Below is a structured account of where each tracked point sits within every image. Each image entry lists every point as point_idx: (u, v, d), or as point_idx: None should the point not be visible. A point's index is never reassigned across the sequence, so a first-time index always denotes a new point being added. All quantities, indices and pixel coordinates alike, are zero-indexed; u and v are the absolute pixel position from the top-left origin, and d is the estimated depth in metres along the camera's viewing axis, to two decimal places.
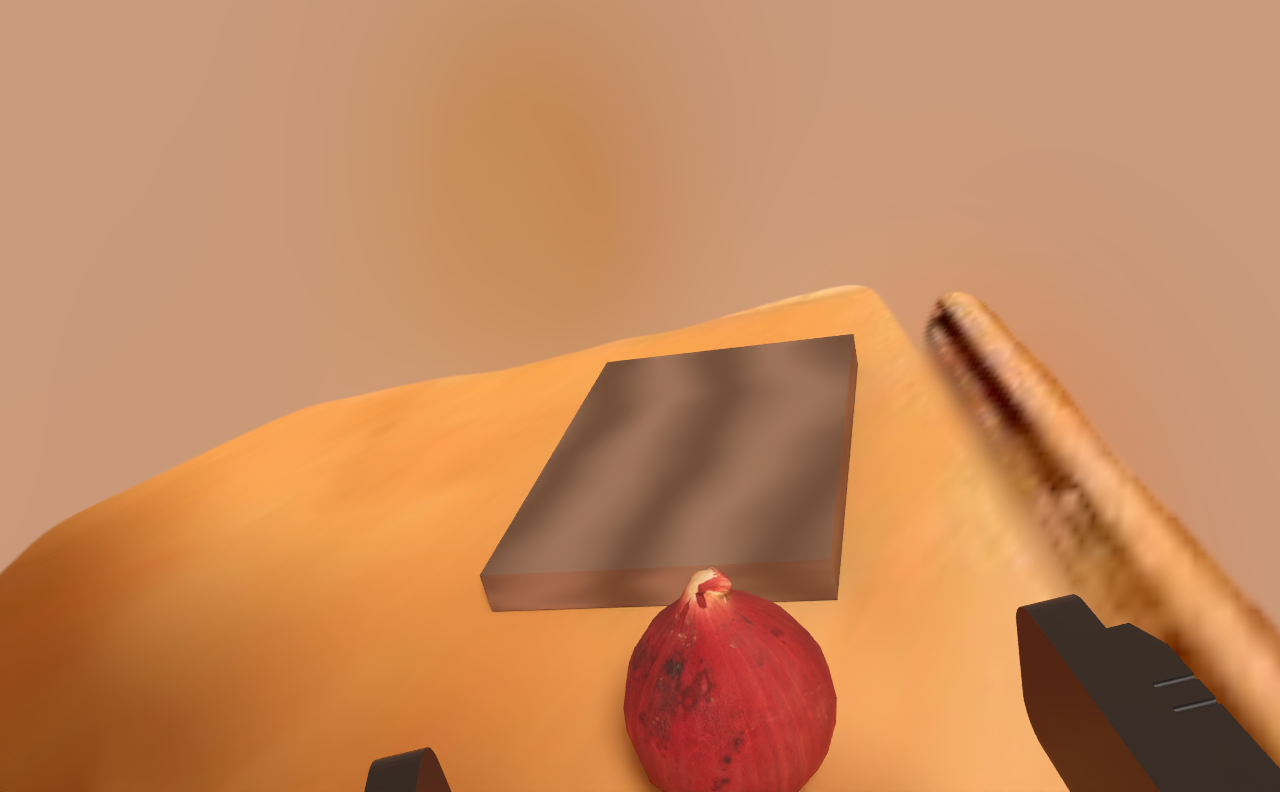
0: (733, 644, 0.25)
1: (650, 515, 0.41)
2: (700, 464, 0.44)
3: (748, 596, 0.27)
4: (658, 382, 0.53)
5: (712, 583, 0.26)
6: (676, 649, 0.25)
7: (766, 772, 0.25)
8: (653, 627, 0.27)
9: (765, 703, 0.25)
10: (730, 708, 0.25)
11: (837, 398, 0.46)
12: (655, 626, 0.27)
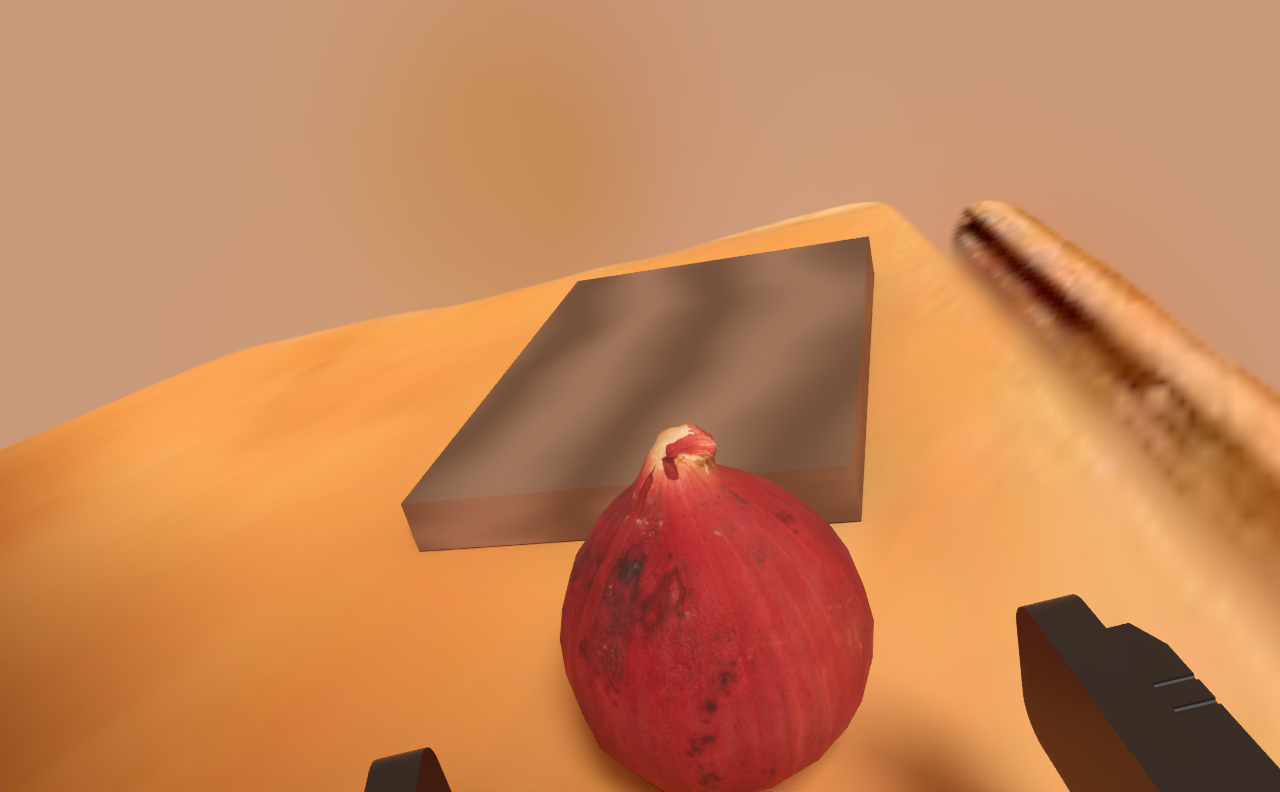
0: (718, 531, 0.16)
1: (620, 428, 0.32)
2: (684, 372, 0.35)
3: (742, 471, 0.18)
4: (636, 296, 0.44)
5: (687, 443, 0.17)
6: (632, 541, 0.17)
7: (770, 726, 0.16)
8: (602, 517, 0.18)
9: (768, 618, 0.16)
10: (714, 627, 0.16)
11: (852, 297, 0.38)
12: (604, 515, 0.18)
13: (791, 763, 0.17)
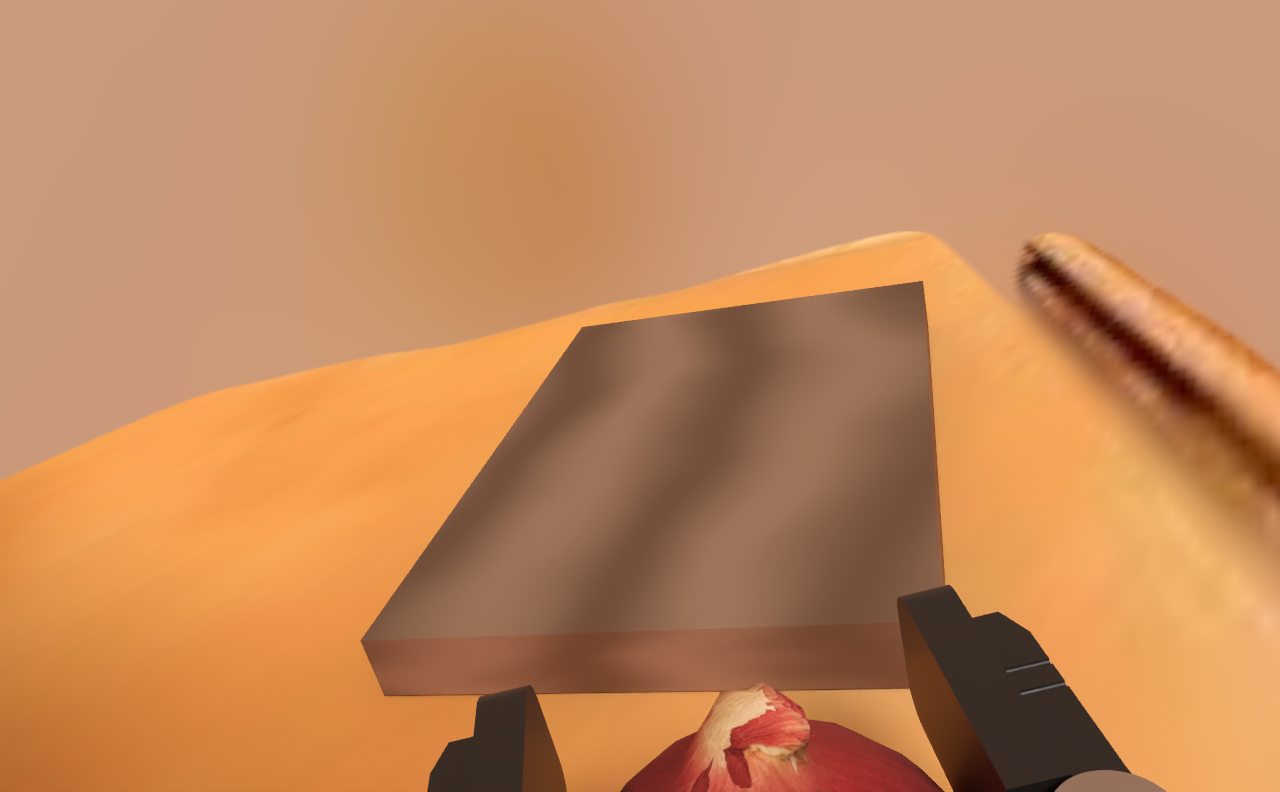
0: None
1: (635, 540, 0.26)
2: (712, 461, 0.29)
3: (842, 743, 0.12)
4: (651, 350, 0.38)
5: (764, 725, 0.11)
6: None
7: None
8: None
9: None
10: None
11: (913, 364, 0.31)
12: None
13: None
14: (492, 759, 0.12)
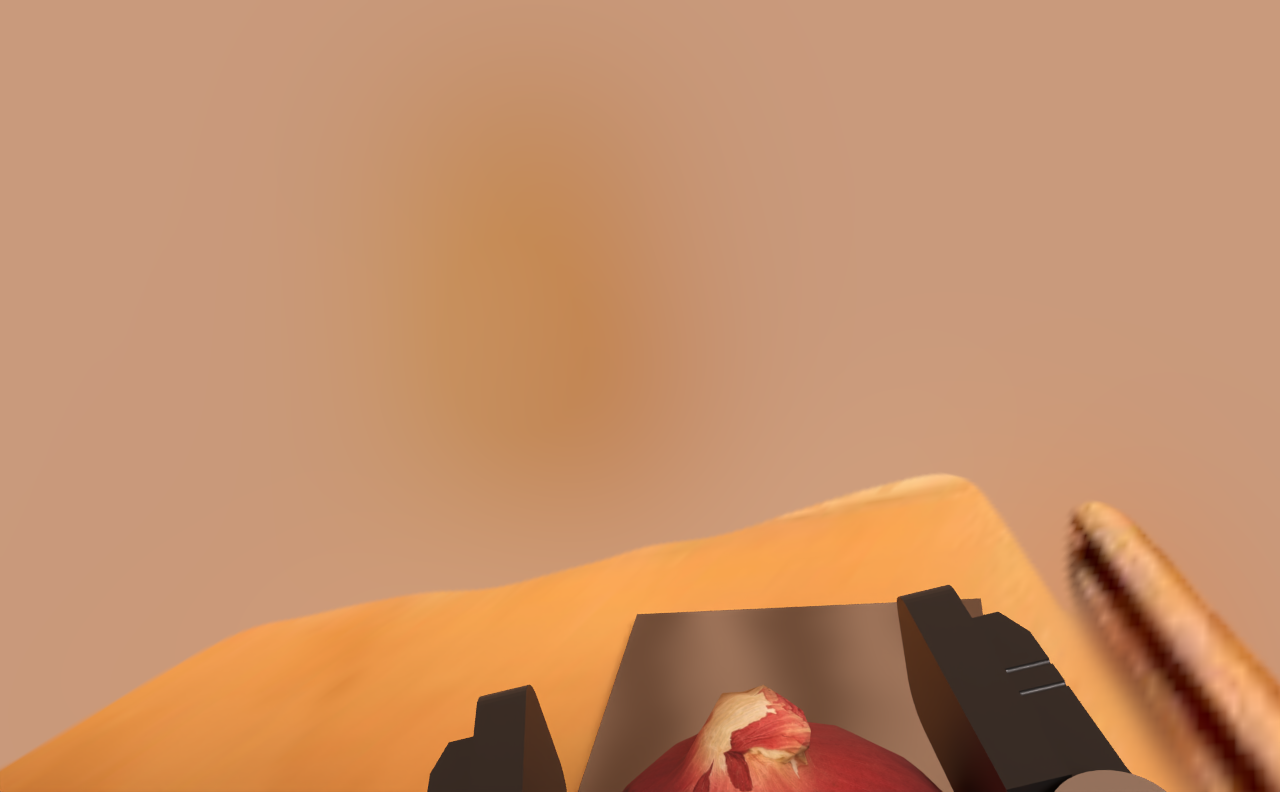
0: None
1: None
2: None
3: (842, 746, 0.12)
4: (713, 669, 0.38)
5: (764, 729, 0.11)
6: None
7: None
8: None
9: None
10: None
11: None
12: None
13: None
14: (492, 759, 0.12)
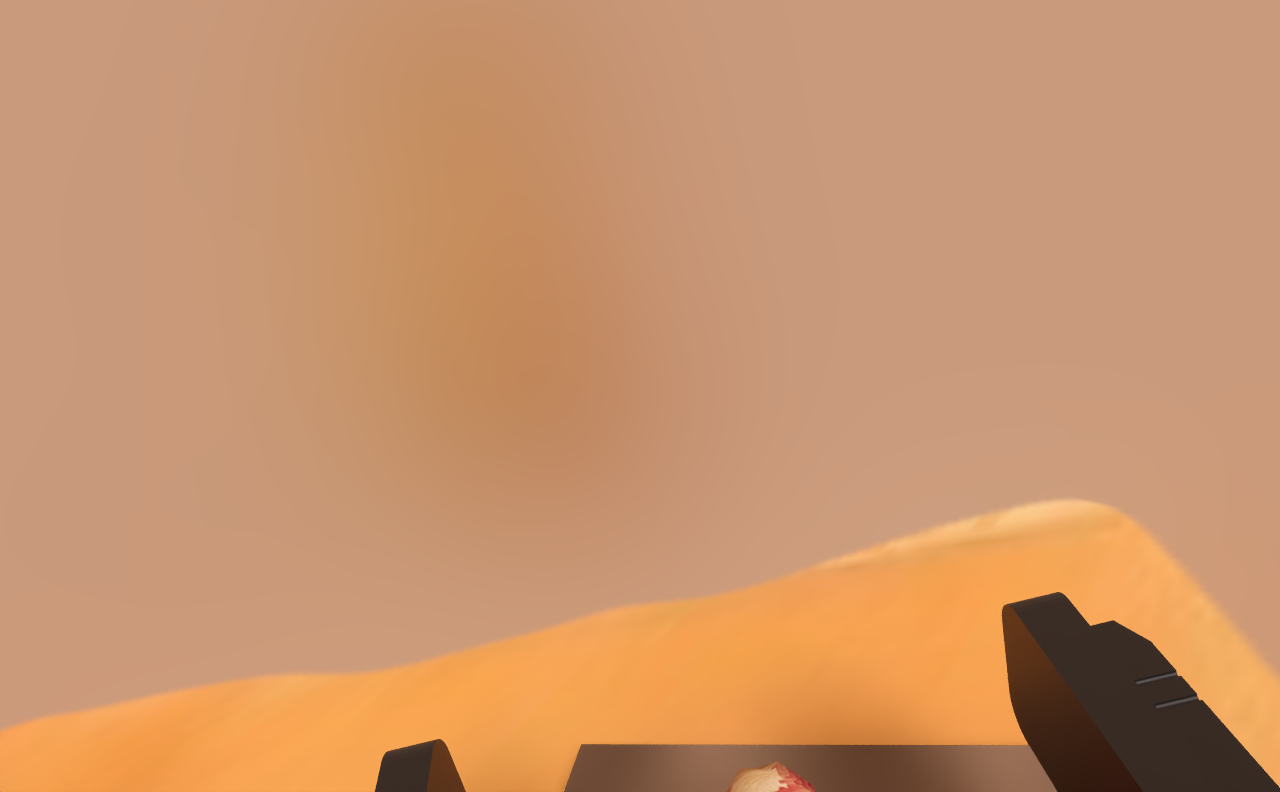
0: None
1: None
2: None
3: None
4: None
5: None
6: None
7: None
8: None
9: None
10: None
11: None
12: None
13: None
14: None
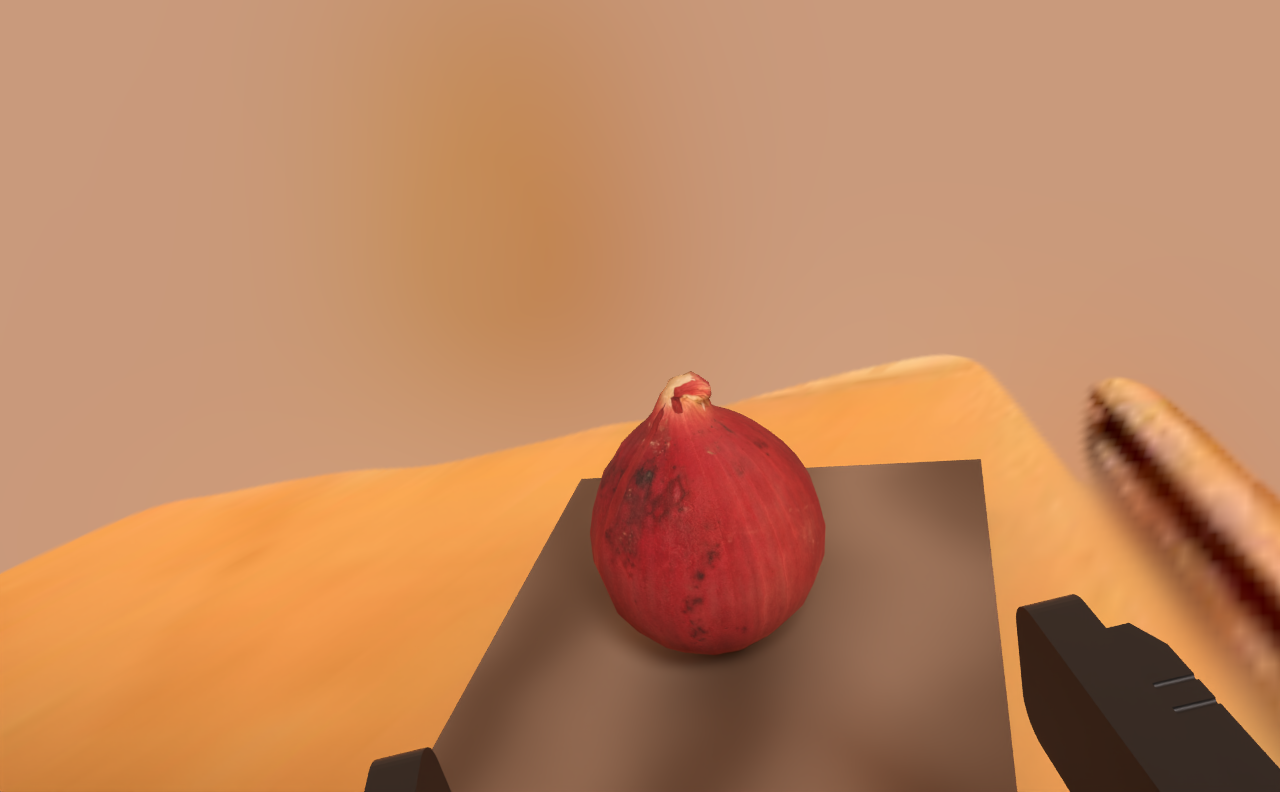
0: (710, 451, 0.23)
1: None
2: (735, 742, 0.23)
3: (730, 410, 0.24)
4: None
5: (689, 386, 0.23)
6: (647, 457, 0.23)
7: (743, 592, 0.22)
8: (624, 442, 0.24)
9: (744, 513, 0.22)
10: (704, 518, 0.22)
11: (978, 602, 0.26)
12: (626, 440, 0.24)
13: (758, 624, 0.23)
14: None
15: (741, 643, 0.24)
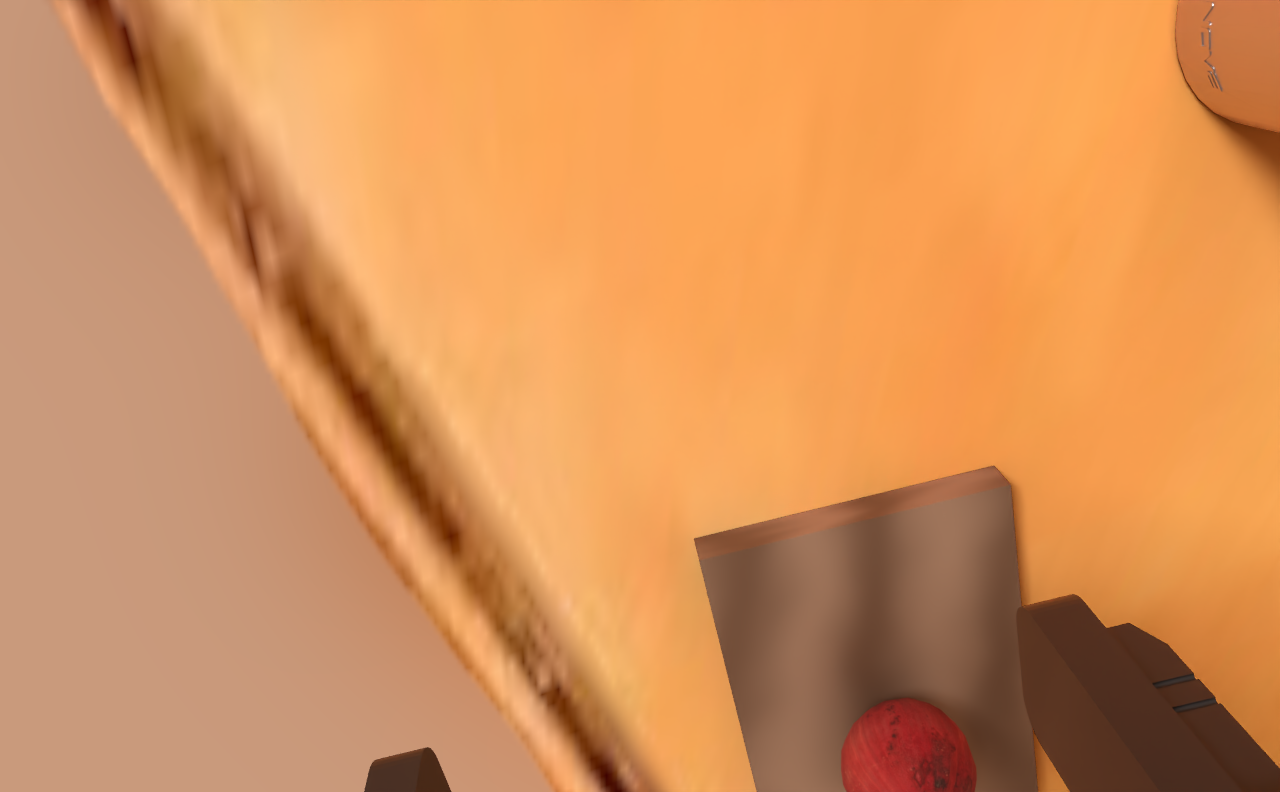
0: None
1: (879, 586, 0.45)
2: (859, 659, 0.46)
3: None
4: None
5: None
6: None
7: (870, 733, 0.43)
8: None
9: (880, 774, 0.42)
10: (899, 766, 0.42)
11: (760, 768, 0.48)
12: None
13: (861, 720, 0.44)
14: None
15: (869, 709, 0.45)
